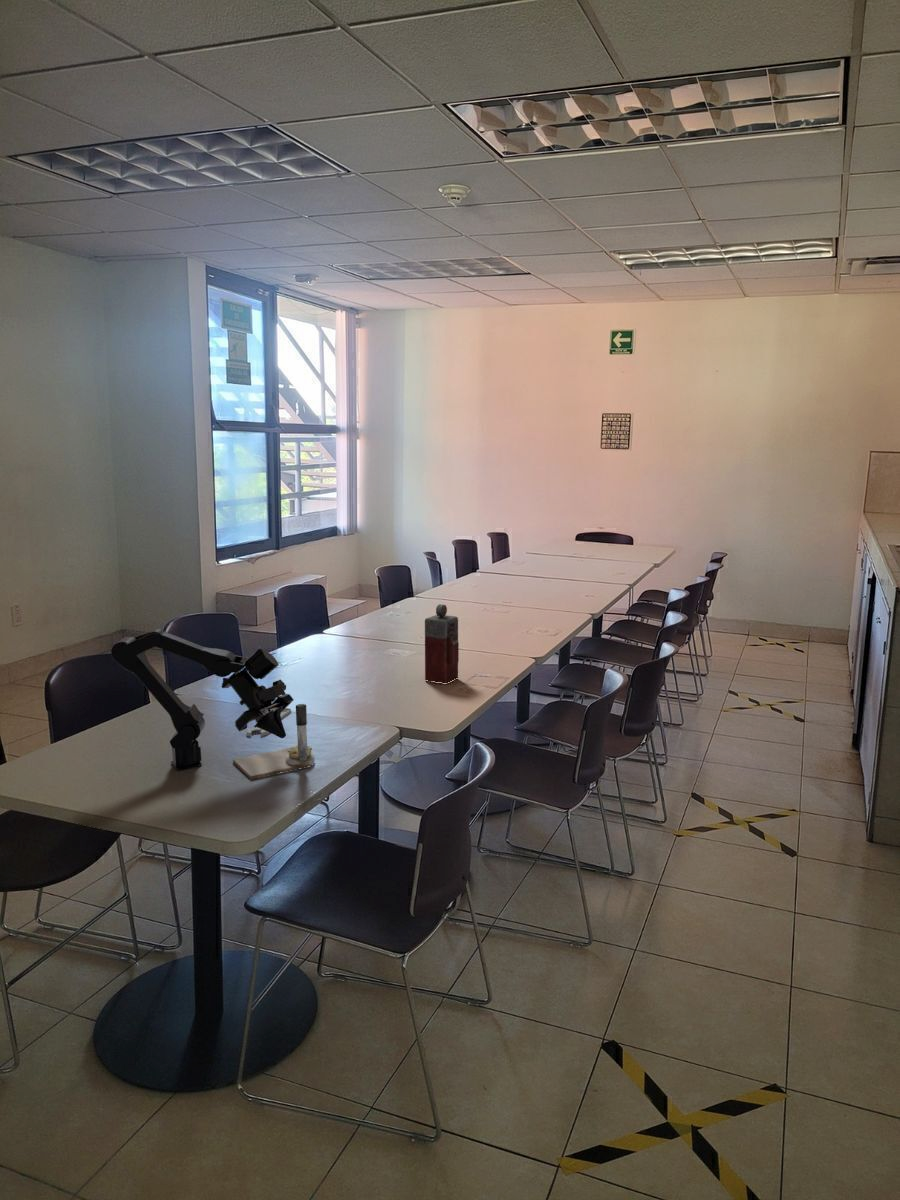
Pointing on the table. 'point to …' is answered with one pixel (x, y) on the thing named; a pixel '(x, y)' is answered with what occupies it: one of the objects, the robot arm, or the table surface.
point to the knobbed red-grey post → (441, 646)
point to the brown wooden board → (270, 763)
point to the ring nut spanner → (301, 735)
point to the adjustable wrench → (263, 732)
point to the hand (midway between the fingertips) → (284, 737)
